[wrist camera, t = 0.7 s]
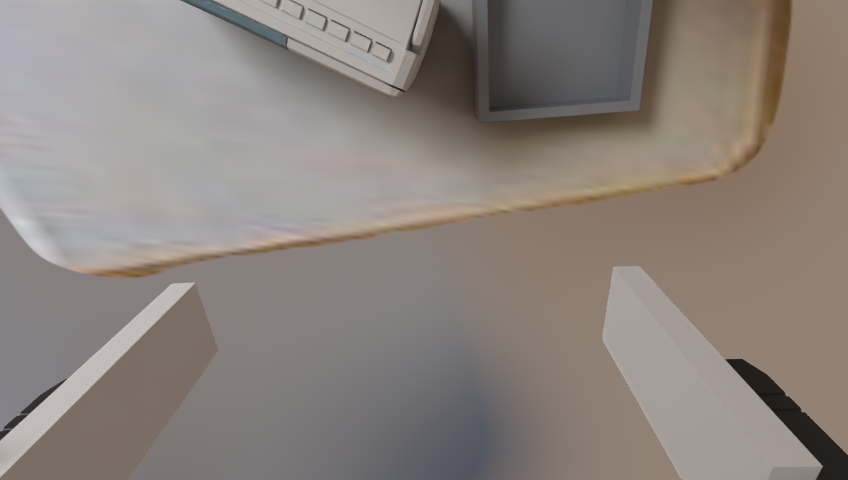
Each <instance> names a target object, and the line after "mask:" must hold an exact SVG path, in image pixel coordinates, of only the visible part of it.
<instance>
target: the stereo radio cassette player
mask: <svg viewBox="0 0 848 480" xmlns="http://www.w3.org/2000/svg"><path fill="white" fill-rule="evenodd" d="M181 1H183V2H185V3H188V4H190V5H192V6H194V7H196V8H199V9H201V10H203V11H205V12H207V13H210V14H212V15H214V16H216V17H218V18H221V19H223V20H225V21H227V22H229V23H232V24H234V25H236V26H238V27H240V28H243V29H245V30H247V31H249V32H251V33H253V34H255V35H257V36H260V37H262V38H264V39H266V40H268V41H270V42H272V43H274V44H277V45H279V46H281V47H283V48H285V49H287V50H289V51H291V52H294V53H296V54H298V55H300V56H302V57H304V58H306V59H308V60H310V61H313V62H315V63H317V64H319V65H321V66H323V67H325V68H327V69H330V70H332V71H334V72H336V73H338V74H340V75H342V76H344V77H347V78H349V79H351V80H353V81H355V82H357V83H359V84H361V85H364V86H366V87H368V88H370V89H372V90H374V91H376V92H379V93H381V94H384V95H386V96H388V97H392V98H399V97H400V96H401V95H402V94H403V93H404V92H405V91H407V90H408V88H409V87H410V86H411V84H412V83H413V81H414V80H415V78H416V76H417V73H418V71H419V68H420V66H421V63H422V61H423V59H424V56H425V53H426V51H427V48H428V45H429V42H430V39H431V36H432V33H433V29H434V25H435V22H436V18H437V14H438V11H439V6H440V0H181Z"/></svg>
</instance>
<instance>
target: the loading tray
mask: <svg viewBox="0 0 848 480" xmlns="http://www.w3.org/2000/svg"><path fill="white" fill-rule="evenodd" d="M652 5H653V0H472V9H473V43H474V77H475V111H476V118H477V120H478V122H479V123H486V122H499V121H511V120H524V119H536V118H549V117H562V116H574V115H587V114H600V113H612V112H625V111H638V110H639V108H640V100H641V92H642V84H643V76H644V68H645V61H646V53H647V45H648V37H649V29H650V21H651V13H652Z"/></svg>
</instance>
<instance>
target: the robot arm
mask: <svg viewBox="0 0 848 480" xmlns="http://www.w3.org/2000/svg"><path fill="white" fill-rule="evenodd" d="M602 340H603V342H604V343H605V345H606V347H607V348H608V350H609V352H610V354H611V356H612V357H613V359H614V361H615V363H616V364H617V366H618V368H619V370H620V372H621V373H622V375H623V377H624V379H625V380H626V382H627V384H628V386H629V388H630V389H631V391H632V393H633V395H634V397H635V398H636V400H637V402H638V404H639V405H640V407H641V409H642V411H643V412H644V414H645V416H646V418H647V419H648V421H649V423H650V425H651V426H652V428H653V430H654V432H655V434H656V435H657V437H658V439H659V441H660V443H661V444H662V446H663V448H664V450H665V451H666V453H667V455H668V457H669V458H670V460H671V462H672V464H673V465H674V467H675V469H676V470H677V473H678V474H679V476H680V478H681V480H848V455H847V454H846V453H845V452H844V451H843V450H842V449H841V448H840V447H839V446H838V445H837V444H836V443H835V442H834V441H833V440H832V439H831V438H830V437H829V436H828V435H827V434H826V433H825V432H824V431H823V430H822V429H821V428H820V427H819V426H818V425H817V424H816V423H815V422H814V421H813V420H812V419H811V418H810V417H809V416H807V414H806V413H802V412H801V409H800V407H799V406H798V405H797V404H796V403H795V402H794V401H793V400H792V399H791V398H790V397H786V395H785V392H784V391H783V390H782V389H781V388H780V387H779V386H778V385H777V384H776V383H775V382H774V381H773V380H772V379H771V378H770V377H769V376H768V375H767V374H765V373H764V372H762V371H760V370H759V369H757V368H756V367H754V366H752V365H751V364H749V363H748V362H746V361H744V360H743V359H724V358H723V357H722V356H721V355H720V354H719V352H718V351H717V350H716V349H715V348H714V347H713V346H712V345H711V344H710V343H709V342H708V340H707V339H706V338H705V337H704V336H703V335H702V334H701V333H700V332H699V331H698V330H697V328H696V327H695V326H694V325H693V324H692V323H691V322H690V321H689V320H688V319H687V318H686V317H685V315H684V314H683V313H682V312H681V311H680V310H679V309H678V308H677V307H676V306H675V305H674V303H673V302H672V301H671V300H670V299H669V298H668V297H667V296H666V295H665V294H664V293H663V291H662V290H661V289H660V288H659V287H658V286H657V285H656V284H655V283H654V282H653V281H652V280H651V278H650V277H649V276H648V275H647V274H646V273H645V272H644V271H643V270H642V269H641V267H640V266H622V267H621V266H620V267H613V272H612V278H611V285H610V292H609V298H608V304H607V310H606V317H605V324H604V330H603V337H602ZM217 352H218V348H217V345H216V342H215V339H214V336H213V333H212V331H211V328H210V325H209V322H208V319H207V316H206V313H205V310H204V307H203V304H202V302H201V298H200V295H199V292H198V289H197V287H196V284H195V283H177V284H171V285H170V286H169V287H168V288H167V289H166V290H165V291H163V292H162V293H161V294H160V295H159V296H158V297H157V298H156V299H155V300H154V301H153V302H151V303H150V304H149V305H148V306H147V307H146V308H145V309H144V310H143V311H142V312H141V313H139V314H138V315H137V316H136V317H135V318H134V319H133V320H132V321H131V322H130V323H129V324H127V326H125V327H124V328H123V329H122V330H121V331H120V332H119V333H118V334H116V335H115V336H114V337H113V338H112V339H111V340H110V341H109V342H108V343H107V344H106V345H105V346H103V347H102V348H101V349H100V350H99V351H98V352H97V353H96V354H95V355H93V357H91V358H90V359H89V360H88V361H87V362H86V363H85V364H84V365H83V366H82V367H80V368H79V369H78V370H77V371H76V372H75V373H74V374H73V375H72V376H70V377H69V379H65V380H63V381H62V382H60V383H59V384H57V385H56V386H54V387H52V388H51V389H49V390H47V391H46V392H44V393H43V394H41V395H40V396H39V397H38V398H36V400H34V401H33V402H32V403H31V404H30V405H29V406H28V407H26V408H25V409H24V410H23V411H22V412H21V415H20V416H16V417H15V418H14V419H13V420H12V421H11V422H10V423H8V424H7V425H6V426H5V427H4V430H3V431H1V432H0V480H128V478H129V477H130V476H131V474H132V472H133V471H134V470H135V468H136V467H137V466H138V464H139V463H140V461H141V460H142V459H143V457H144V456H145V454H146V453H147V451H148V450H149V448H150V447H151V446H152V444H153V443H154V442H155V440H156V439H157V437H158V436H159V434H160V433H161V431H162V430H163V429H164V427H165V426H166V424H167V423H168V422H169V420H170V419H171V417H172V416H173V415H174V413H175V412H176V410H177V409H178V407H179V406H180V404H181V403H182V402H183V400H184V399H185V398H186V396H187V395H188V393H189V391H190V390H191V389H192V388H193V386H194V385H195V383H196V382H197V380H198V379H199V378H200V376H201V375H202V373H203V372H204V370H205V369H206V368H207V366H208V365H209V363H210V362H211V361H212V359H213V358H214V356H215V355H216V353H217Z"/></svg>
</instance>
